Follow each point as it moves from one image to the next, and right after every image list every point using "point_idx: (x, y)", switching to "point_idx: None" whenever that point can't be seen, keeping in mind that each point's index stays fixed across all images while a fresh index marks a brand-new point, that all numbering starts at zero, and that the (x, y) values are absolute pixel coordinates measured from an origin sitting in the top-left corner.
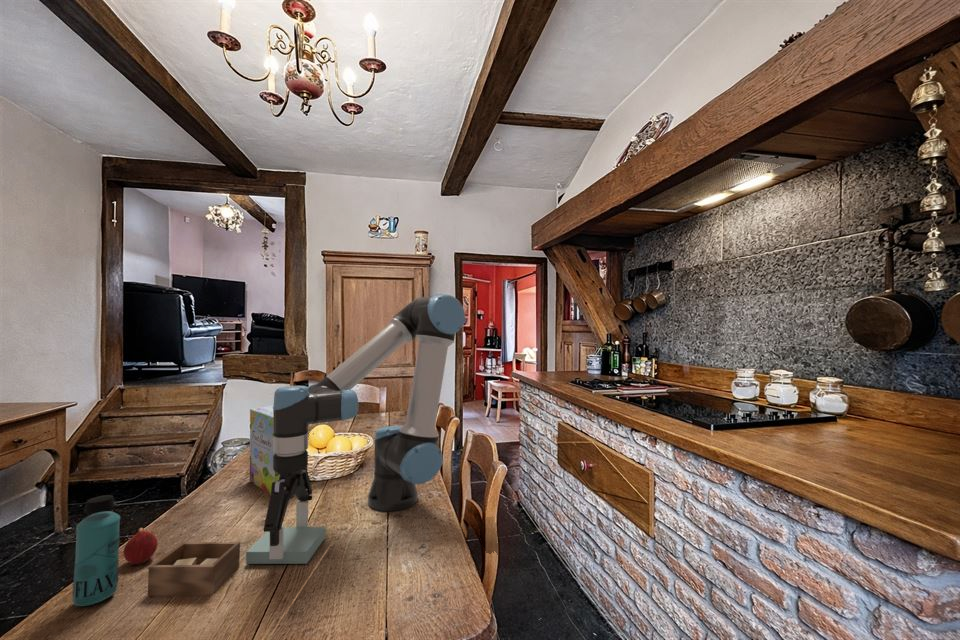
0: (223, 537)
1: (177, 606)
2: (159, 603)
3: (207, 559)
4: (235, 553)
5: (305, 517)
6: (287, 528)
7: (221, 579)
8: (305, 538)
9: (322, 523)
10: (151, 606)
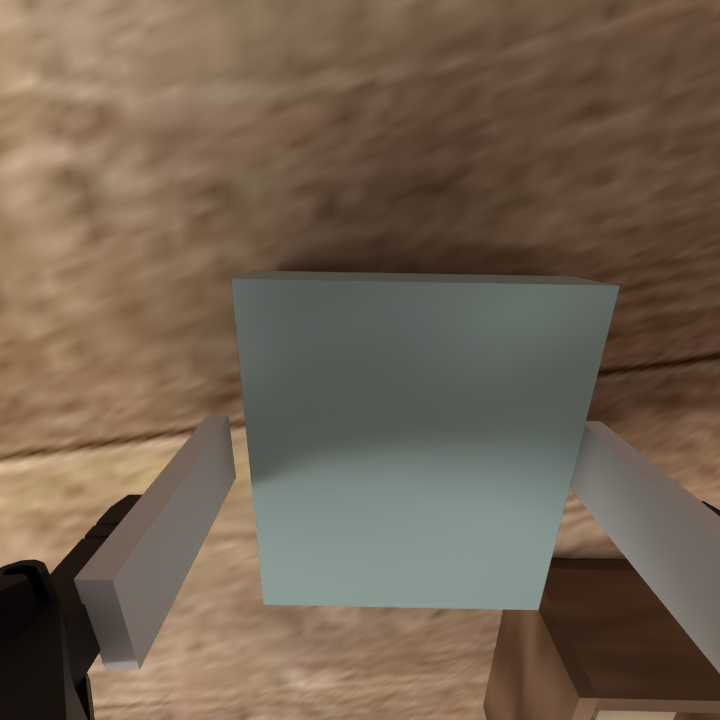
0: (258, 696)
1: None
2: None
3: (605, 716)
4: (598, 651)
5: (196, 472)
6: (277, 524)
7: None
8: (416, 368)
9: (48, 364)
10: None
